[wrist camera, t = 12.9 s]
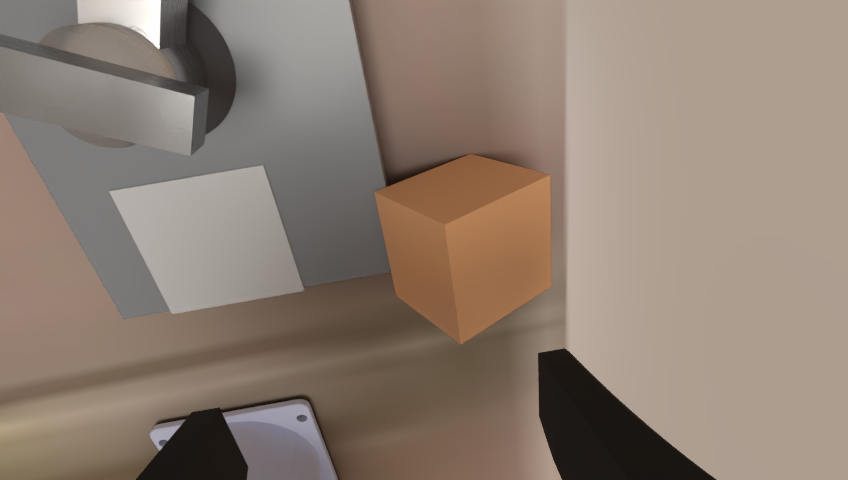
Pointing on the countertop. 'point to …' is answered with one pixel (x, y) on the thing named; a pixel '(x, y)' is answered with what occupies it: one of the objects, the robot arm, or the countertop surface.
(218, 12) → the box
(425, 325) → the countertop surface
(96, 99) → the lever handle
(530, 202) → the orange cube
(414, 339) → the countertop surface
